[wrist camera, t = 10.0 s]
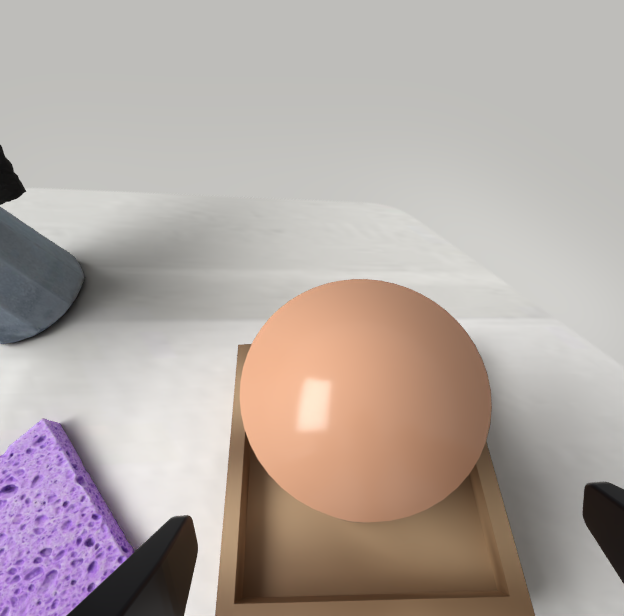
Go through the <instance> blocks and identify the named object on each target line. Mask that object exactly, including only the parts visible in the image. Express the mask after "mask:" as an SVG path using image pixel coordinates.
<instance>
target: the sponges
mask: <svg viewBox="0 0 624 616" xmlns="http://www.w3.org/2000/svg"><path fill="white" fill-rule="evenodd" d="M133 553H134V550H133V548H132V546H131V545H130V544H129V543H128V541H127V540H126V538H125V535H124V533H123V531H122V530H121V529H120V527H119V525H118V524H117V521H116V520H115V519H114V517H113V515H112V513H111V511H110V510H109V508H108V506H107V504H106V503H105V501H104V499H103V498H102V496H101V494H100V492H99V491H98V489H97V487H96V485H95V484H94V482H93V480H92V479H91V477H90V475H89V473H88V472H86V470H85V468H84V466H83V464H82V461H81V459H80V457H79V455H78V454H77V452H76V450H75V449H74V447H73V445H72V443H71V441H70V440H69V438H68V436H67V434H66V433H65V431H64V429H63V428H62V426H61V424H60V423H57V422H53V421H49V420H47V419H44V418H43V419H41V420H40V421H39V422H38V423H36V424H35V425H34V426H33V427H32V428H31V429H29V430H28V431H27V432H26V433H25V434H23V435H22V436H20V437H19V438H18V439H17V440H16V441H15V442H13V443H12V444H11V445H10V446H9V447H8V449H7V451H6V452H5V453H4V454H3V455H1V456H0V616H66V615H67V614H68V613H70V612H71V611H72V610H73V609H74V608H75V607H76V606H77V605H78V604H79V603H80V602H81V601H82V600H83V599H85V598H86V597H87V596H88V595H89V594H90V593H91V592H92V591H93V590H94V589H95V588H96V587H97V586H98V585H100V584H101V583H102V582H103V581H104V580H105V579H106V578H107V577H108V576H109V575H110V574H111V573H112V572H114V571H115V570H116V569H117V568H118V567H119V566H120V565H121V564H122V563H123V562H124V561H125V560H126V559H127V558H129V557H130V556H131V555H132V554H133Z"/></svg>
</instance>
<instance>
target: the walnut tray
mask: <svg viewBox="0 0 624 616" xmlns="http://www.w3.org/2000/svg"><path fill="white" fill-rule="evenodd" d="M251 345H252V344H244V345H238V355H237V367H236V378H235V390H234V402H233V414H232V425H231V437H230V449H229V461H228V472H227V484H226V496H225V507H224V519H223V531H222V543H221V554H220V566H219V578H218V589H217V601H216V613H215V616H535V614H534V610H533V606H532V603H531V599H530V596H529V592H528V589H527V585H526V581H525V578H524V574H523V571H522V567H521V564H520V560H519V556H518V553H517V549H516V546H515V542H514V539H513V535H512V531H511V528H510V524H509V521H508V517H507V514H506V510H505V506H504V503H503V499H502V496H501V492H500V489H499V485H498V482H497V478H496V474H495V471H494V467H493V464H492V460H491V457H490V453H489V449H488V446H487V442H486V443H485V445H484V448H483V450H482V453H481V455H480V457H479V459H478V461H477V462H476V464H475V466H474V467H473V469H472V471H471V472H470V474H469V475H468V476H467V477H466V478H465V480H464V481H463V482H462V483H461V484H460V485H459V487H458V488H456V489H455V490H454V491H453V492H452V493H451V494H449V495H448V496H447V497H446V498H445V499H443V500H442V501H440V502H438V503H437V504H435V505H433V506H432V507H430V508H428V509H427V510H424V511H422V512H419V513H417V514H414V515H412V516H409V517H405V518H401V519H396V520H392V521H382V522H365V523H357V522H349V521H345V520H341V519H338V518H335V517H332V516H330V515H327V514H325V513H322V512H320V511H317V510H315V509H312V508H311V507H309V506H307V505H305V504H304V503H302V502H300V501H298V500H297V499H295V498H294V497H293V496H291V495H290V494H289V493H288V492H286V491H285V490H284V489H283V488H281V487H280V486H279V485H278V483H277V482H276V481H275V480H274V479H273V478H272V477H271V476H270V475H269V474H268V473H267V471H266V470H265V468H264V467H263V466H262V464H261V463H260V462H259V460H258V458H257V457H256V455H255V453H254V451H253V449H252V447H251V445H250V443H249V440H248V437H247V435H246V432H245V429H244V425H243V420H242V416H241V408H240V381H241V376H242V371H243V366H244V363H245V360H246V357H247V354H248V351H249V349H250V347H251Z"/></svg>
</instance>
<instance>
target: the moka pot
mask: <svg viewBox="0 0 624 616" xmlns="http://www.w3.org/2000/svg"><path fill="white" fill-rule="evenodd" d="M24 192H26V190H25V188H24V187H23V185H22V183H21V181H20V180H19V178H18V176H17V175H16V174H15V173H14V171H13V167H12V164H11V163H10V161H9V160H8V159H7V158H6V157H5V155H4V153H3V149H2V147H1V145H0V205H1V204H3V203H5V202H10V201H11V200H14V199H17V198H18V197H20V196H21V195H22V194H23V193H24ZM83 281H84V274H83V271H82V268H81V266H80V264H79V263H78V261H77V260H76V258H75V257H74V256H73V255H71V254H70V253H69V252H67V251H66V250H64V249H62V248H61V247H59V246H58V245H56V244H55V243H53V242H52V241H50V240H49V239H47V238H46V237H44V236H42V235H41V234H39V233H38V232H37V231H35V230H34V229H33V228H31V227H29V226H28V225H26V224H25V223H23V222H22V221H20V220H19V219H18V218H16V217H15V216H13V215H12V214H10V213H9V212H7V211H6V210H4V209H3V208H1V207H0V344H6V343H14V342H17V341H20V340H23V339H25V338H29V337H32V336H35V335H37V334H38V333H40V332H42V331H44V330H45V329H46V328H48V327H49V326H51V325H52V324H53V323H55V322H56V321H57V320H58V319H59V318H60V317H61V316H62V315H64V314H65V312H66V311H67V310H68V308H69V307H70V306H71V305H72V303H73V302H74V300H75V299H76V298H77V295H78V292H79V291H80V289H81V286H82V283H83Z"/></svg>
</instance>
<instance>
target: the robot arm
mask: <svg viewBox="0 0 624 616" xmlns="http://www.w3.org/2000/svg"><path fill="white" fill-rule="evenodd" d="M583 518H584V521H585V523H586V525H587V527H588V529H589V530H590V532H591V533H592V535H593V537H594V538H595V540H596V541H597V543H598V544H599V546H600V547H601V549H602V551H603V552H604V554H605V555H606V557H607V558H608V560H609V561H610V563H611V565H612V566H613V568H614V569H615V571H616V572H617V574H618V576H619V577H620V579H621V580H622V582H623V583H624V489H622V488H620V487H618V486H615V485H613V484H611V483H609V482H592V483H588V484H587V485H586V486H585V489H584V501H583ZM197 553H198V543H197V538H196V534H195V529H194V525H193V520H192V518H191V517H190V516H188V515H184V516H175V517H172V518H171V519H169V520H168V521H167V522H166V523H165V524H164V525H163V526H162V527H161V528H160V529H159V530H158V531H156V532H155V533H154V534H153V535H152V536H151V537H150V538H149V539H148V540H147V541H146V542H145V543H144V544H142V545H141V546H140V547H139V548H138V549H137V550H136V551H135V552H134V553H133V554H132V555H131V556H130V557H129V558H127V559H126V560H125V561H124V562H123V563H122V564H121V565H120V566H119V567H118V568H117V569H116V570H115V571H114V572H112V573H111V574H110V575H109V576H108V577H107V578H106V579H105V580H104V581H103V582H102V583H101V584H100V585H98V586H97V587H96V588H95V589H94V590H93V591H92V592H91V593H90V594H89V595H88V596H87V597H86V598H85V599H83V600H82V601H81V602H80V603H79V604H78V605H77V606H76V607H75V608H74V609H73V610H72V611H71V612H70V613H68V614H67V615H66V616H184V613H185V608H186V604H187V599H188V595H189V590H190V586H191V581H192V577H193V572H194V568H195V563H196V559H197Z"/></svg>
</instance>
